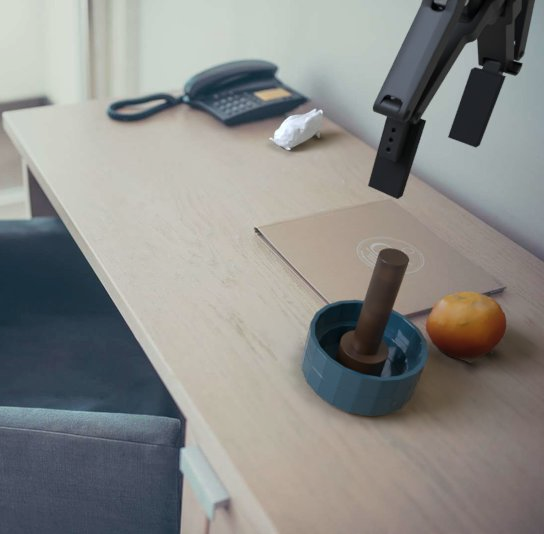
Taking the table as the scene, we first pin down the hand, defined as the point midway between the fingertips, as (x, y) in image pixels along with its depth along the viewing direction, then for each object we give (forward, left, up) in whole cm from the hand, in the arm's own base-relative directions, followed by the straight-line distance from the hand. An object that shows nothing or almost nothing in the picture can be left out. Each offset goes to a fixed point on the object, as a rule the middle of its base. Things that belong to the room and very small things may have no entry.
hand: (426, 164), depth 56 cm
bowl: (0, +1, -26) cm, 26 cm away
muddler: (0, +1, -26) cm, 26 cm away
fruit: (-5, -13, -26) cm, 30 cm away
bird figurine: (+39, -40, -26) cm, 62 cm away
